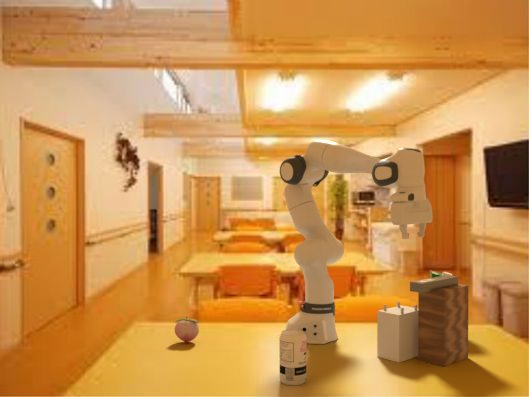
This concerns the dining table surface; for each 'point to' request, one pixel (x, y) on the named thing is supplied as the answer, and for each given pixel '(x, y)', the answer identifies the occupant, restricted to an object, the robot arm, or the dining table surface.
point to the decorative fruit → (186, 329)
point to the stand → (443, 325)
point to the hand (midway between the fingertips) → (413, 237)
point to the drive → (433, 283)
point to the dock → (397, 333)
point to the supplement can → (293, 357)
